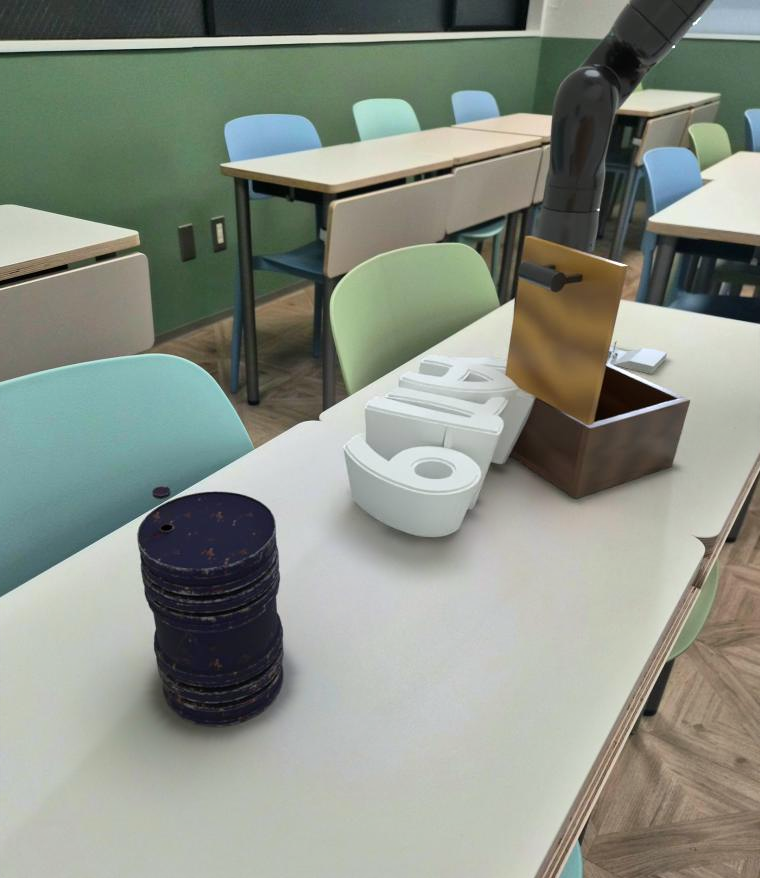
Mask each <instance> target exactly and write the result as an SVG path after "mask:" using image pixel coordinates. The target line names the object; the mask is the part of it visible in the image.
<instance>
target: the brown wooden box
mask: <svg viewBox="0 0 760 878" xmlns="http://www.w3.org/2000/svg"><path fill="white" fill-rule="evenodd" d="M690 404H691V399H689V398H686V397H685V396H683V395H680V394H678V393H676V392H673V391H671V390H669V389H668V388H667V389H666V388H665V387H662V386H660V385H658V384H655V383H654V382H652V381H650V380H647V379H644V378H642V377H640V376H638V375H636V374H633V373H631V372H629V371H627V370H625V369H623V368H621V367H619V366H616V365H612V364H609V363H607V364H606V368H605V373H604V377H603V382H602V387H601V391H600V396H599V400H598V405H597V409H596V414H595V419H594V423H593V424H592V425H586V424H584V423H583V422H581V421H579V420H577V419H575V418H573V417H572V416H570V415H568V414H566V413H564V412H563V411H561V410H559V409H557V408H555V407H553V406H552V405H550V404H548V403H546V402H544V401H543V400H541V399H539V398H535V401H534V404H533V407H532V409H531V412H530V415H529V417H528V419H527V422H526V424H525V426H524V428H523V430H522V431H521V433H520V435H519V437H518V439H517V441H516V443H515V445H514V447H513V449H512V451H511V453H510V455H509V457H512V458H513V459H514V460H516V461H518V462H519V463H521V465H523V466H525V467H527V468H528V469H530V470H531V471H533V472H534V473H536V474H537V475H539V476H540V477H542V478H543V479H545V480H546V481H548V482H550V483H551V484H552V485H554V486H555V487H557V488H559V489H560V490H562V491H563V492H564V493H566V494H568V495H569V496H570V497H572V498H574V499H575V500H576V499H577V500H578V499H580V498H583V497H585V496H588V495H592V494H594V493H595V494H596V493H598V492H600V491H604V490H607V489H610V488H612V487H616V486H618V485H621V484H624V483H627V482H630V481H633V480H636V479H639V478H642V477H645V476H648V475H651V474H654V473H658V472H660V471H663V470H666V469H668V468H672V467H673V464H674V461H675V459H676V458H675V457H676V453H677V451H678V447H679V443H680V439H681V436H682V432H683V429H684V425H685V422H686V418H687V414H688V411H689V407H690Z"/></svg>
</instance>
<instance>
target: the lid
mask: <svg viewBox="0 0 760 878" xmlns="http://www.w3.org/2000/svg"><path fill="white" fill-rule="evenodd" d="M628 267H629V265H628V264H624V263H621V262H617V261H615V260H611V259H607V258H604V257H601V256H598V255H595V254H593V255H592V254H589V253H585V252H582V251H579V250H576V249H572V248H569V247H566V246H562V245H559V244H556V243H553V242H549V241H546V240H543V239H540V238H536V236H533V235H524V241H523V248H522V255H521V262H520V265H519V267H518V269H517V276H518V281H517V282H518V289H517V296H516V303H515V310H514V309H513V316H514V317H513V316H512V317H513V318H512V326H511V331H510V338H509V345H508V352H507V358H506V359H507V365H506V372H505V375H506V376H507V377H509V378H510V379H511V380H512V381H513V382H514V383H515V384H516V385H517V386H518V387H519V388H521V389H522V390H524V391H526V392H528V393H530V394H532V395H533V396H535V397H537V398H539V399H541V400H543V401H544V402H546V403H548V404H550V405H552V406H553V407H555V408H557V409H559V410H561V411H563V412H564V413H566V414H568V415H570V416H572V417H573V418H575V419H577V420H579V421H581V422H583V423H584V424H586V425H592V424H593V423H594V419H595V414H596V409H597V405H598V400H599V396H600V391H601V387H602V382H603V377H604V373H605V368H606V364H607V359H608V355H609V350H610V345H611V346H612V341H613V337H614V332H615V327H616V322H617V317H618V314H619V308H620V303H621V300H622V295H623V289H624V285H625V281H626V277H627V272H628Z"/></svg>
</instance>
